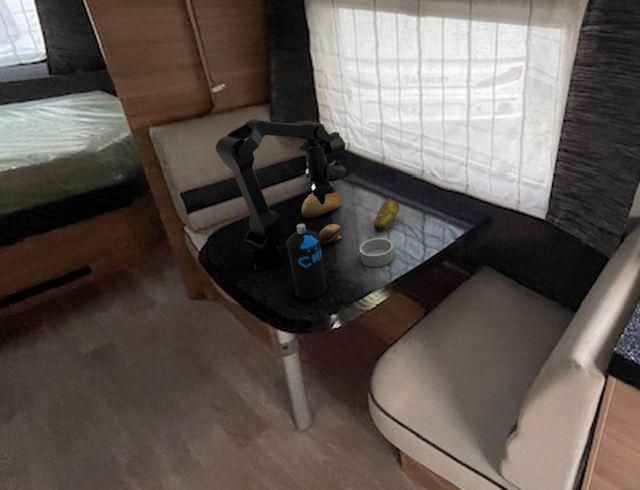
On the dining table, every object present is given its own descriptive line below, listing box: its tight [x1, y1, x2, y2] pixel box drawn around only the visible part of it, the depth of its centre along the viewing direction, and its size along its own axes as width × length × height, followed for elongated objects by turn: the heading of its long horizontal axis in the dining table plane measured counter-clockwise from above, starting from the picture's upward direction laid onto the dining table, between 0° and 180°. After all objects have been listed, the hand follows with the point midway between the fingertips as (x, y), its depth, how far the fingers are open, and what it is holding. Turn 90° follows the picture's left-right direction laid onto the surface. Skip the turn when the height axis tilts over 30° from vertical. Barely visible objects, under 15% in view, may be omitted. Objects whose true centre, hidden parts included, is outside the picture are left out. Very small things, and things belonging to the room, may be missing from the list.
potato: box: [373, 199, 400, 233], centre depth 144 cm, size 8×13×8 cm, turn 149°
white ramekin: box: [358, 237, 395, 268], centre depth 127 cm, size 10×10×4 cm
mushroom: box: [318, 223, 343, 245], centre depth 135 cm, size 8×8×6 cm
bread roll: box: [301, 192, 342, 219], centre depth 152 cm, size 10×15×8 cm, turn 141°
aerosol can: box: [285, 223, 328, 300], centre depth 109 cm, size 8×8×20 cm
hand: (322, 203), depth 139 cm, fingers closed
